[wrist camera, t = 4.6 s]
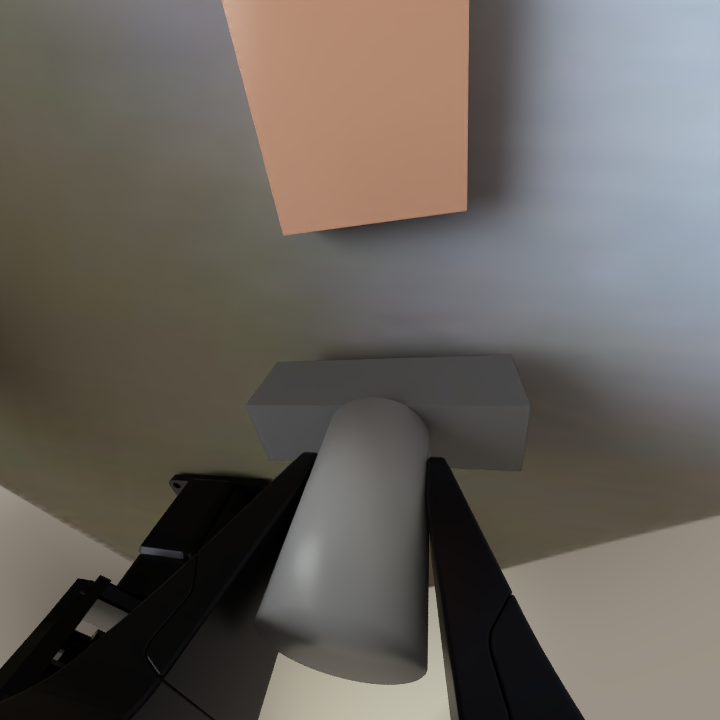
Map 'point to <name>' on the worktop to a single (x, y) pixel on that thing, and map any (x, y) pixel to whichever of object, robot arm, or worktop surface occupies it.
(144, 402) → the worktop surface
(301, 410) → the pusher
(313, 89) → the tile
